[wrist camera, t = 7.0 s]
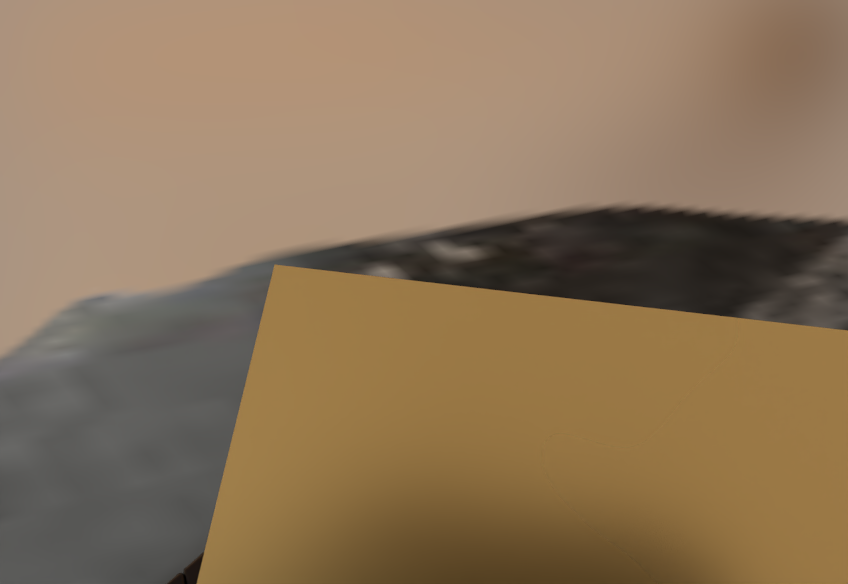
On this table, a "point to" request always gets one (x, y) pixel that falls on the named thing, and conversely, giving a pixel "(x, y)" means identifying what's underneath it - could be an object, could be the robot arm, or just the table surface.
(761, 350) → the tan tall block
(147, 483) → the table surface
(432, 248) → the table surface
